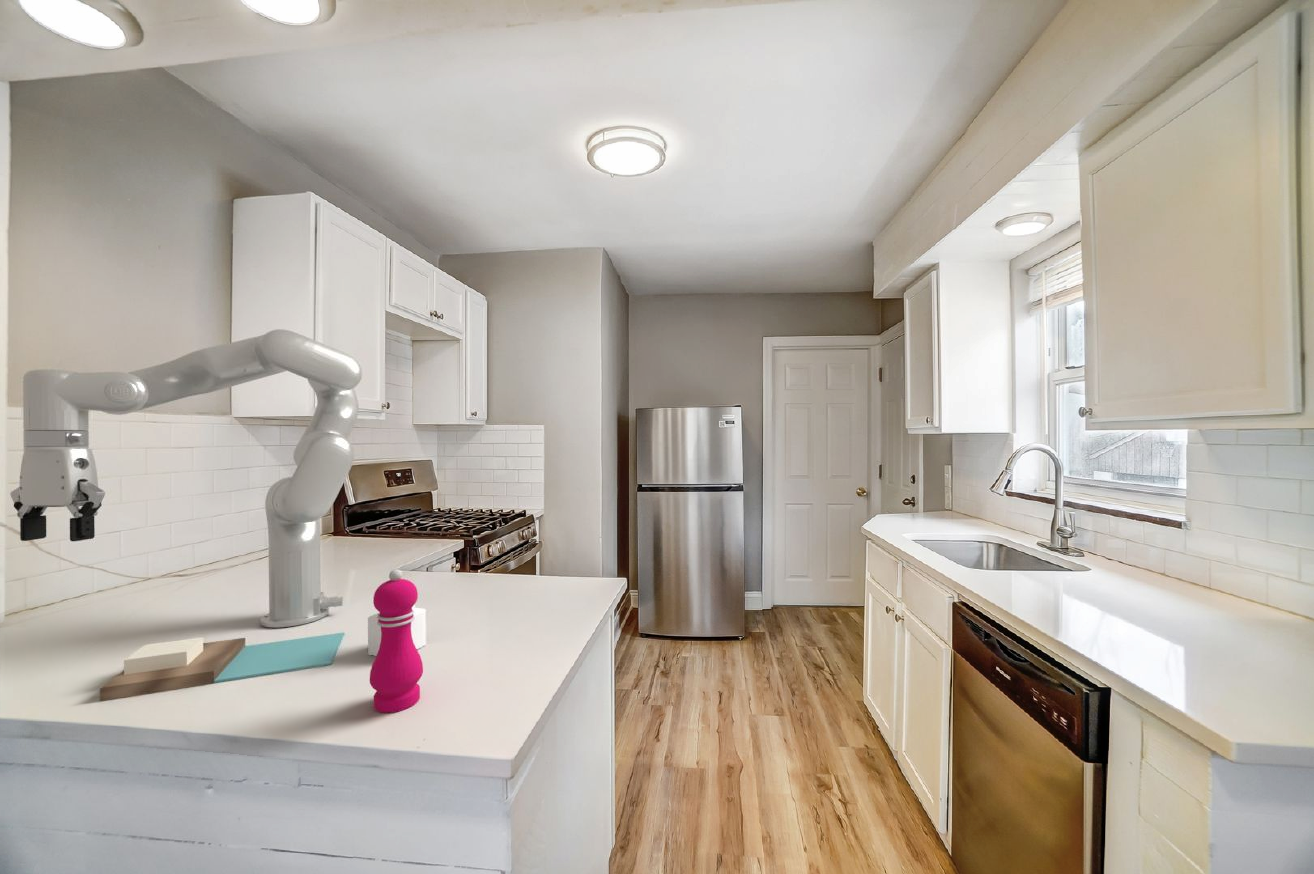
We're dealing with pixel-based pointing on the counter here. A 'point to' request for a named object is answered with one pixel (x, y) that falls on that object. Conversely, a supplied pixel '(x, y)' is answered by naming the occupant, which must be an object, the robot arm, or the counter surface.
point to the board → (176, 672)
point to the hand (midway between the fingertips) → (57, 539)
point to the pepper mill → (396, 647)
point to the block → (163, 656)
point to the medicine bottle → (416, 630)
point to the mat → (282, 657)
